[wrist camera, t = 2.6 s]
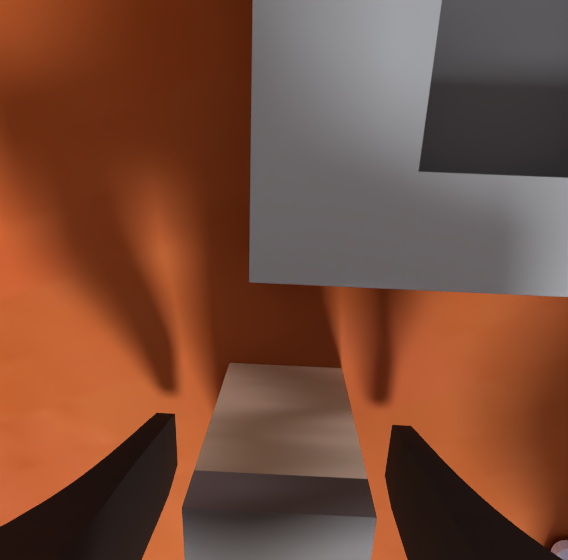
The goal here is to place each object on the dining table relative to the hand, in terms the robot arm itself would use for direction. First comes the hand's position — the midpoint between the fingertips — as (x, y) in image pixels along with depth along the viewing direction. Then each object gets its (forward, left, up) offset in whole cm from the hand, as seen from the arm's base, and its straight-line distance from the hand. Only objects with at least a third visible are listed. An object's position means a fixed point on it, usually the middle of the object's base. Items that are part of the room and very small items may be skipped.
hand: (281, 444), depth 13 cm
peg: (0, 0, -2) cm, 2 cm away
